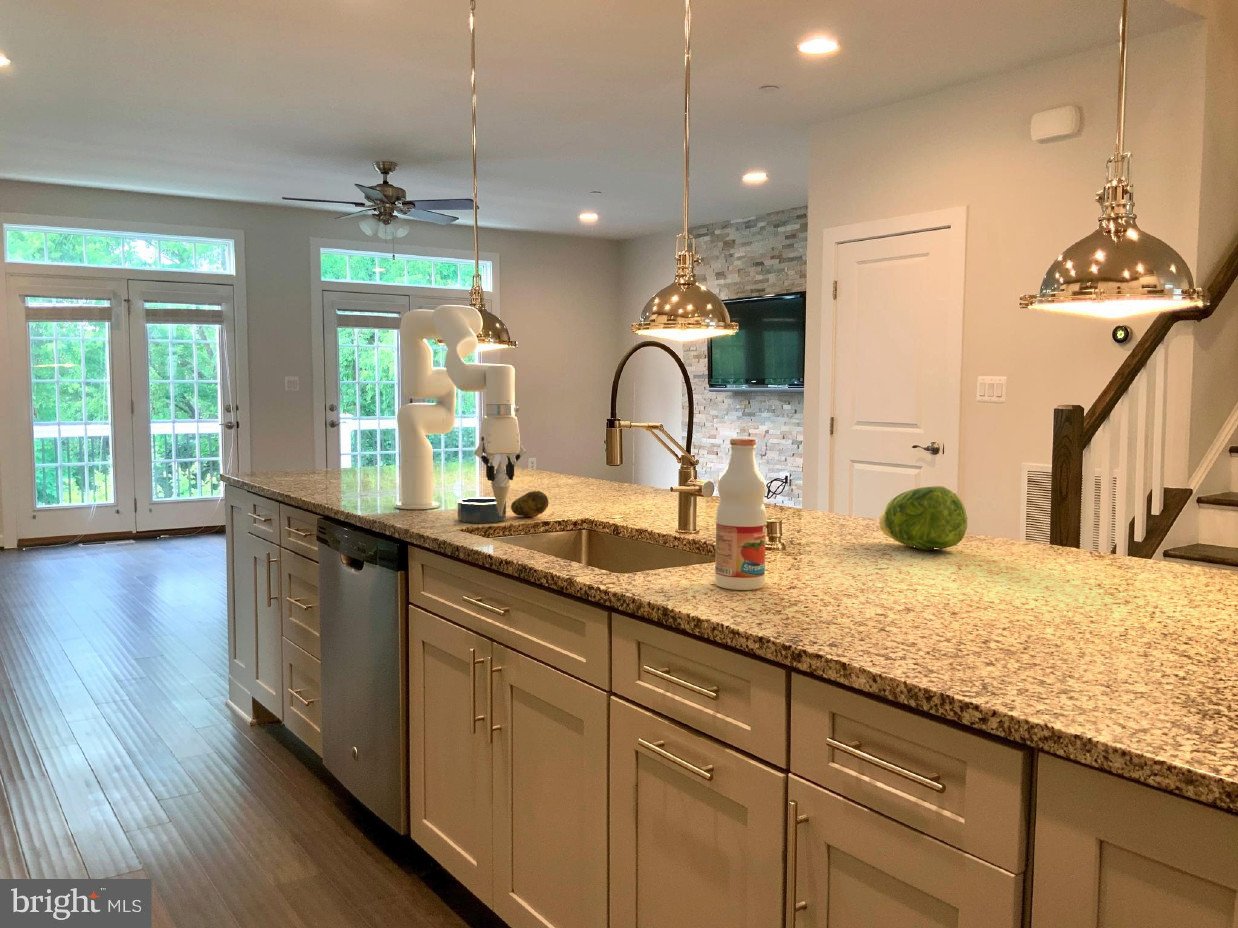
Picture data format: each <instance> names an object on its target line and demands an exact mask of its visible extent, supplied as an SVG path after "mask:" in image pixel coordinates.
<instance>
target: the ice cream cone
mask: <svg viewBox="0 0 1238 928" xmlns="http://www.w3.org/2000/svg"><path fill="white" fill-rule="evenodd" d="M510 481H511V480H510V479H509V477H508V476H507V475H506V468H504V465H503V463H502V460H501V459H500V460H499V463H498V464H497V467H496V469H495V480H494V481H490V485H491V488H492V492H493V496H494V497H493V498H495V501H496V505H497V508H498V512H499V516H501V515H502V512H503V508H504V505H505V501H506V502H507V498H508V493H509V491H510V487H511V484H510Z"/></svg>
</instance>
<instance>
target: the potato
mask: <svg viewBox="0 0 1238 928" xmlns="http://www.w3.org/2000/svg"><path fill="white" fill-rule="evenodd" d="M549 503H550V502H549V498H548V496H547V494H545V493H544V492H543V491H540V490H534V491H532V490H531V491H527V492H526V493H525V494H523V495H521V496H519V497H518V498H516V499H515V500H513V501H512V502H511V505H510V510H511V511H512V513H513V514H514V515H516V516H519V517H520V516H521V517H525V518H536V517H538V516H539V515H542V514H543V513H544V512H545V511H546V510H547V509H548V507H549Z"/></svg>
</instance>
